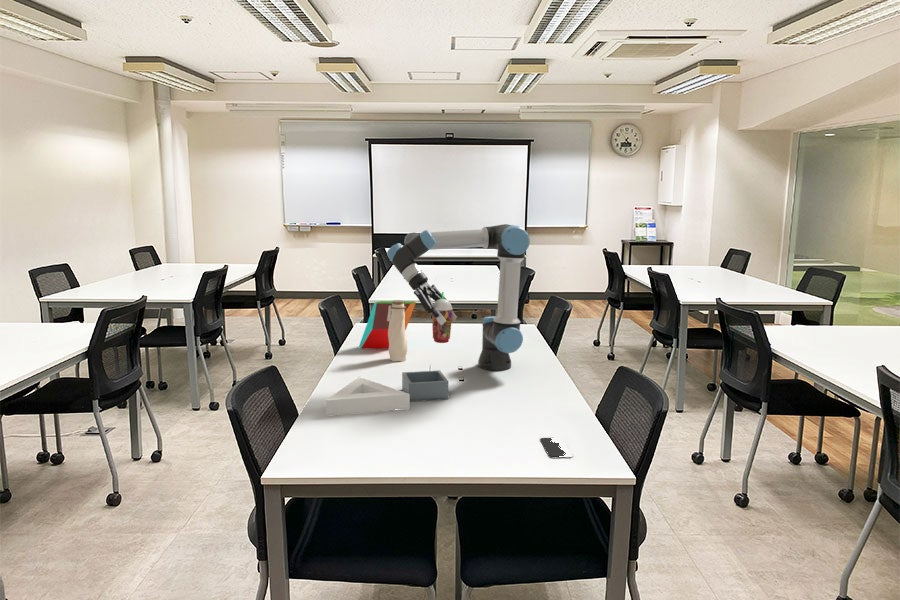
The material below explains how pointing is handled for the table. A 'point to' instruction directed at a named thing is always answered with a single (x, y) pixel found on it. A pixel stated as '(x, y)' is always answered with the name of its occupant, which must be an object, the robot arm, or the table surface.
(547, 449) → the phone
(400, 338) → the water bottle
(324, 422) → the table surface
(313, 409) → the table surface
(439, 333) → the smoothie
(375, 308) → the gem
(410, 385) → the tray
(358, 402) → the triangle block
